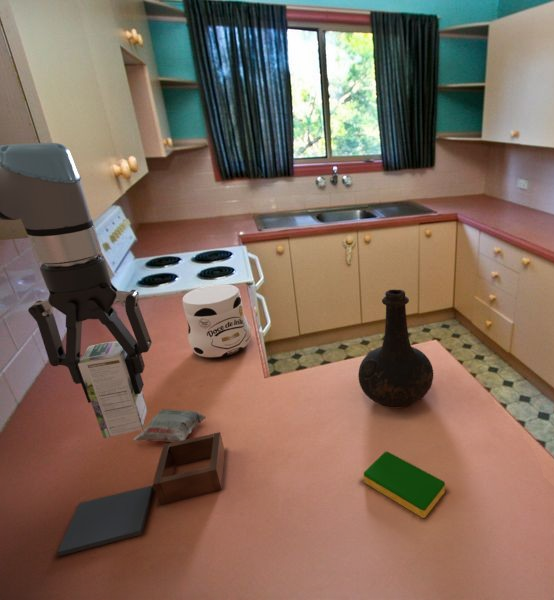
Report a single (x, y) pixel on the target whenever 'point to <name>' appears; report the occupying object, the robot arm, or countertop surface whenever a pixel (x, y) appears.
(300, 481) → the countertop surface
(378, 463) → the dish sponge
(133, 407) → the syrup box
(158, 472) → the holder
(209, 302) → the doce de leite jar
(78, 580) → the countertop surface
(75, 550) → the mat
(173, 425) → the packaged food
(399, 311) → the glass bottle
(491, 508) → the countertop surface
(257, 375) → the countertop surface
